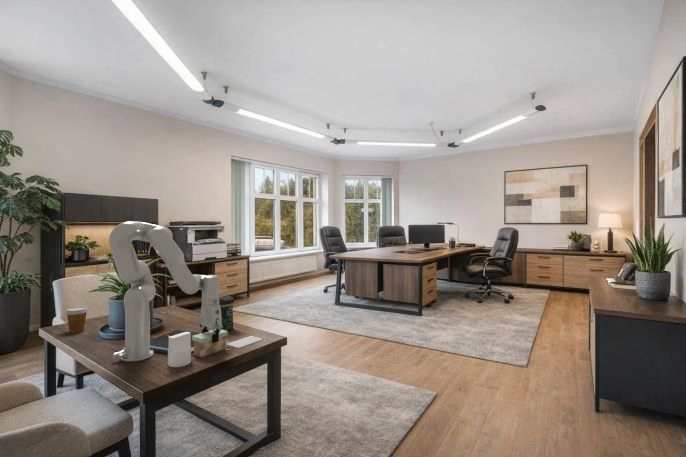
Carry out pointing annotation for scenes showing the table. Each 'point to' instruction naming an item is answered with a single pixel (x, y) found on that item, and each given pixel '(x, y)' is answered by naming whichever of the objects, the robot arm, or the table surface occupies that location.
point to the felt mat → (244, 342)
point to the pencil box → (208, 347)
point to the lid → (207, 336)
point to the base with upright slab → (179, 350)
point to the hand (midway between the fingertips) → (210, 340)
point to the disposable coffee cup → (76, 318)
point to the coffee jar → (226, 312)
